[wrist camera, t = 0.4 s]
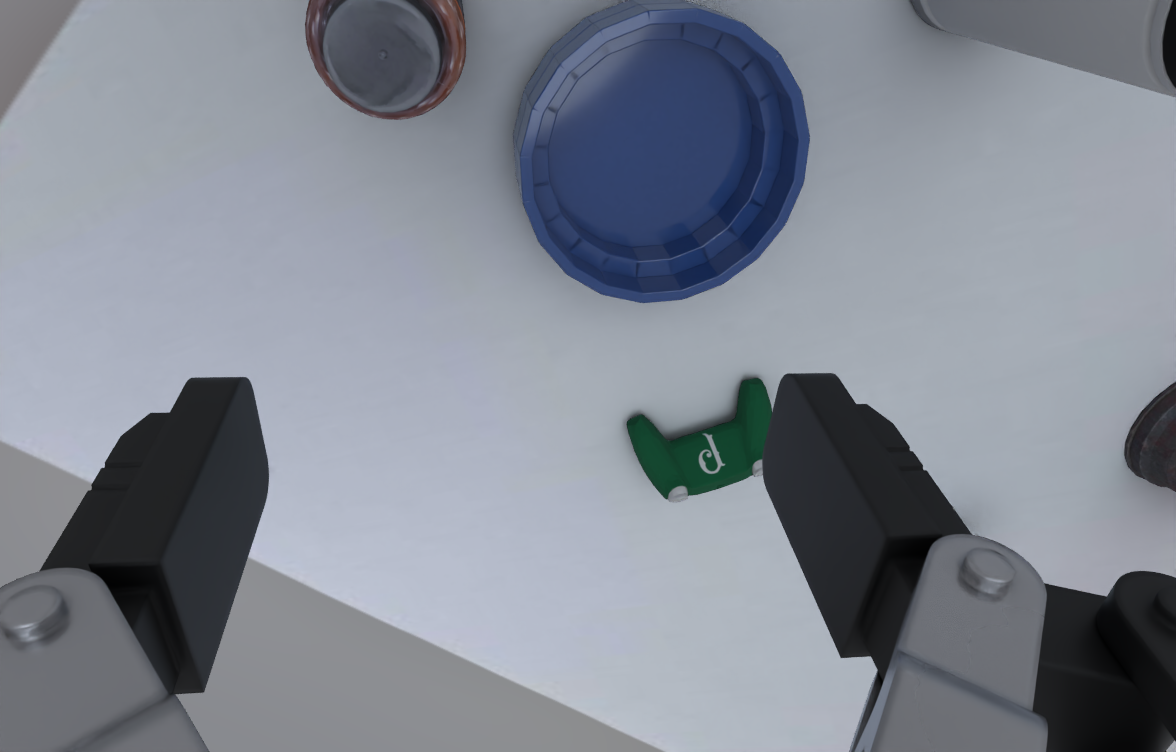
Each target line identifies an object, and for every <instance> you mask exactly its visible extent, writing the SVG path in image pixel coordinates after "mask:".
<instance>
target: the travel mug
mask: <svg viewBox="0 0 1176 752" xmlns="http://www.w3.org/2000/svg"><path fill="white" fill-rule="evenodd" d="M911 1H912V3H913V6H914V8H915V10H916V12H917V13H918V14H919V16H920V17H921V18H922V19H923V20H924V21H925V22H926V23H928V24H929V25H930V26H933V27H935V28H937V29H939V30H943V31H946V32H950V33H955V34H957V35H960V36H964V37H967V38H971V39H974V40H978V41H981V42H985V43H988V44H992V45H995V46H999V47H1002V48H1006V49H1009V50H1012V51H1016V52H1019V53H1023V54H1026V55H1030V56H1033V57H1037V58H1040V59H1044V60H1047V61H1051V62H1054V63H1058V64H1061V65H1065V66H1068V67H1072V68H1075V69H1079V70H1082V71H1086V72H1089V73H1092V74H1096V75H1099V76H1103V77H1106V78H1110V79H1113V80H1117V81H1120V82H1124V83H1127V84H1131V85H1134V86H1138V87H1141V88H1145V89H1148V90H1152V91H1155V92H1159V93H1162V94H1166V95H1169V96H1173V97H1176V0H911Z"/></svg>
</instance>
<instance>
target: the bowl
mask: <svg viewBox="0 0 1176 752" xmlns="http://www.w3.org/2000/svg"><path fill="white" fill-rule="evenodd" d="M513 134H514V135H513V143H514V158H515V173H516V180H517V184H518V187H519V191H520V195H521V199H522V202H523V205H524V208H525V210H526V213H527V215H528V217H529V220H530V222H531V225H532V227H533V230H534V232H535V235H536V237H537V239H538V242H539V243H540V245H541V246H542V247H543V248H544V249H545V250H546V252H547V253H548V254H549V255H550V256H551V257H552V258H553V260H554V261H555V262H556V263H557V264H558V265H559V266H560V268H561V269H562V270H563V271H564V272H565V273H566V274H567V275H568V276H570V277H572V278H574V279H575V280H577V281H579V282H581V283H582V284H584V285H586V286H588V287H589V288H591V289H593V290H594V291H596V292H598V293H600V294H603V295H606V296H611V297H616V298H620V299H625V300H630V301H635V302H639V303H650V302H661V301H672V300H682V299H685V298H688V297H691V296H693V295H696V294H699V293H701V292H704V291H706V290H709V289H712V288H714V287H717V286H719V285H722V284H724V283H725V282H727V281H728V280H729V279H731V278H732V277H733V276H735V275H736V274H738V273H739V272H740V271H742V270H743V269H744V268H746V267H747V266H749V265H750V264H751V263H753V262H754V261H755V260H757V258H759V257H760V255H761V254H762V253H763V252H764V251H765V249H766V248H767V247H768V246H769V244H770V243H771V242H772V241H773V239H774V238H775V237H776V236H777V234H778V233H779V232H780V231H781V229H782V228H783V227H784V226H785V223H786V222H787V220H788V218H789V216H790V213H791V211H792V209H793V207H794V204H795V202H796V200H797V197H798V195H799V193H800V191H801V188H802V186H803V184H804V183H803V182H804V179H805V171H806V163H807V156H808V148H809V141H810V138H809V137H810V135H809V129H808V124H807V118H806V112H805V107H804V101H803V95H802V92H801V90H800V88H799V86H798V85H797V83H796V81H795V79H794V77H793V76H792V74H791V72H790V70H789V69H788V67H787V65H786V63H785V62H784V60H783V58H782V56H781V54H779V52H778V51H777V50H776V49H774V48H773V47H772V46H771V45H770V44H768V43H767V42H766V41H765V40H764V39H762V38H761V37H760V36H759V35H758V34H756V33H755V32H754V31H753V30H752V29H750V28H749V27H748V26H747V25H746V24H744V23H742V22H740V21H738V20H736V19H733V18H731V17H729V16H727V15H724V14H722V13H720V12H718V11H715V10H712V9H709V8H706V7H703V6H700V5H697V4H694V3H691V2H688V1H685V0H627V1H625V2H622V3H620V4H617V5H615V6H613V7H610V8H608V9H605V10H603V11H600V12H598V13H595V14H593V15H590V16H588V17H586V18H585V19H584V20H582V21H581V22H580V23H579V24H578V25H576V26H575V27H574V28H573V29H572V30H571V31H569V32H568V33H567V34H566V35H565V36H564V37H562V38H561V39H560V40H559V41H558V42H557V43H555V44H554V45H553V46H552V47H551V48H550V49H549V50H548V52H547V53H546V55H545V56H544V58H543V60H542V61H541V63H540V65H539V66H538V68H537V69H536V71H535V73H534V74H533V76H532V78H531V79H530V81H529V82H528V84H527V86H526V87H525V90H524V92H523V96H522V100H521V104H520V108H519V112H518V116H517V120H516V124H515V128H514V132H513Z"/></svg>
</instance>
